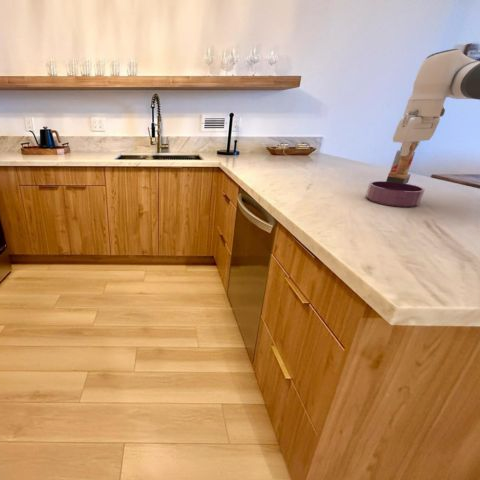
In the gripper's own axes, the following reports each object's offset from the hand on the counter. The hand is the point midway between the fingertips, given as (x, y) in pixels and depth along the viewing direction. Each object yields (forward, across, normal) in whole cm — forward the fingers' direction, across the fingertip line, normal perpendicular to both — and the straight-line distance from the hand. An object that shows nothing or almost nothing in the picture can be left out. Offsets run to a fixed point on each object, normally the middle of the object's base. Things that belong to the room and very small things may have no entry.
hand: (406, 155), depth 97 cm
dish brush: (+9, 0, 0) cm, 9 cm away
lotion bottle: (+16, +21, +8) cm, 28 cm away
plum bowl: (+16, 0, 0) cm, 16 cm away
